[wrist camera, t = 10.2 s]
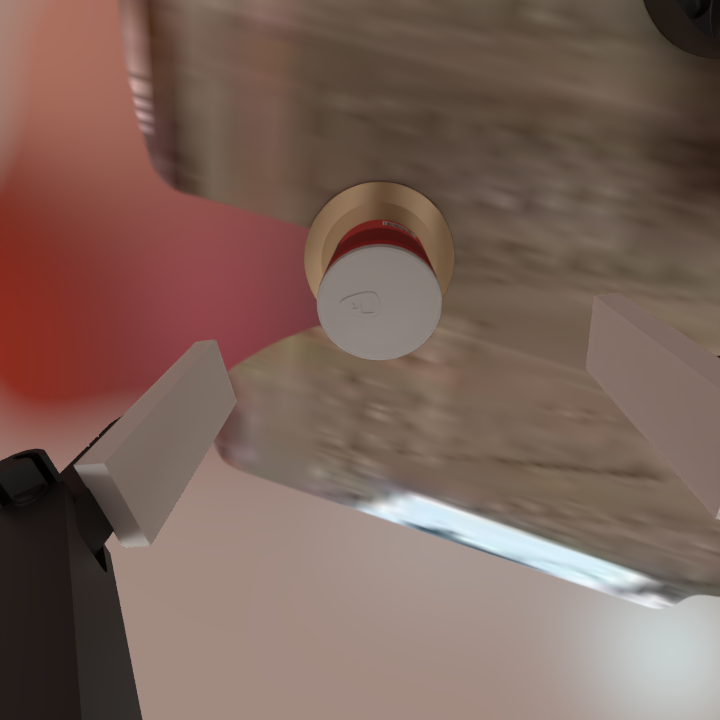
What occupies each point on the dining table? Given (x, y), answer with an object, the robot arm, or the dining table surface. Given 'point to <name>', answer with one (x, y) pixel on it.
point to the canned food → (379, 292)
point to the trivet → (379, 205)
